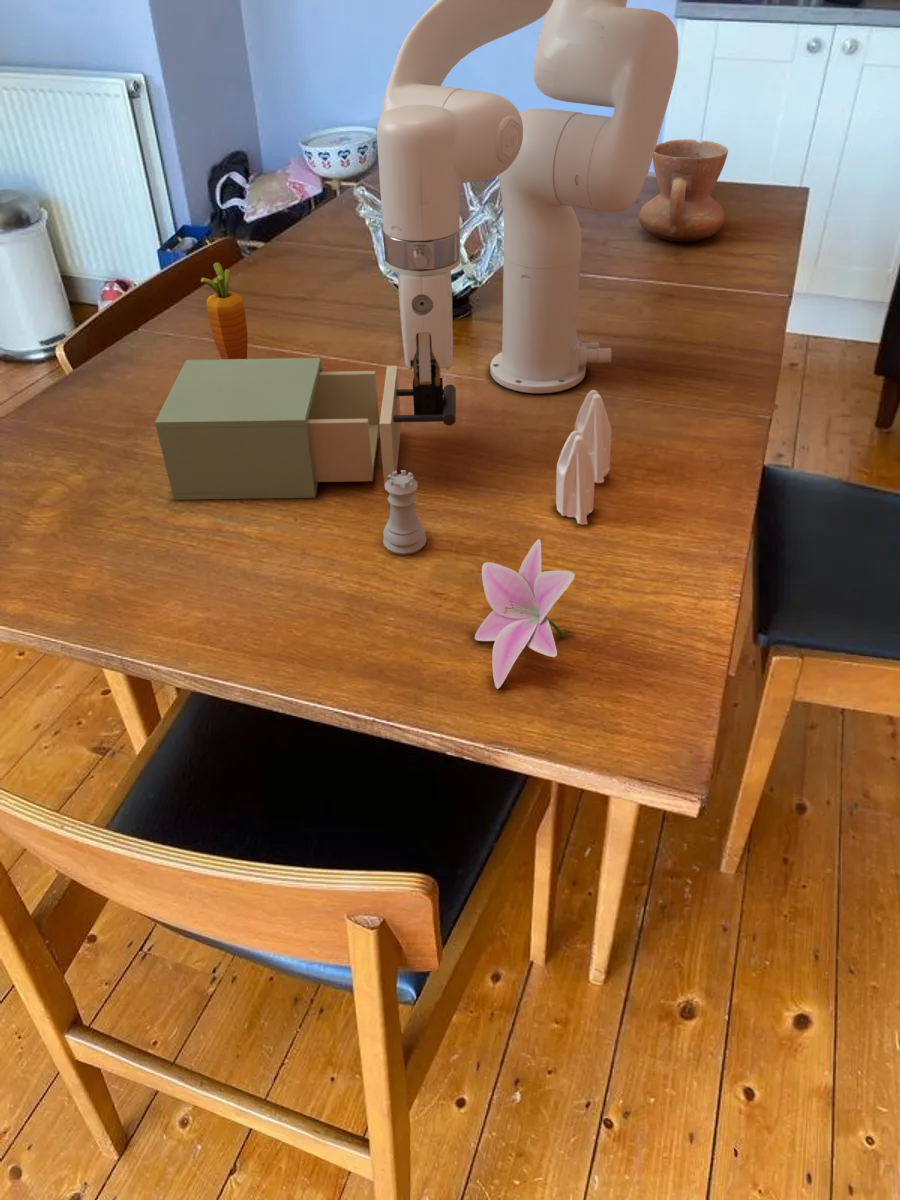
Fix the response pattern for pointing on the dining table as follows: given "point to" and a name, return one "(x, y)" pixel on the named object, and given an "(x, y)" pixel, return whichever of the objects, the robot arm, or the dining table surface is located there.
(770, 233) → the dining table surface
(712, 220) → the ceramic jug
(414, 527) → the rook chess piece
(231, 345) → the carrot
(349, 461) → the drawer
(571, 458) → the shaker set
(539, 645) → the lily
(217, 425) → the cabinet
